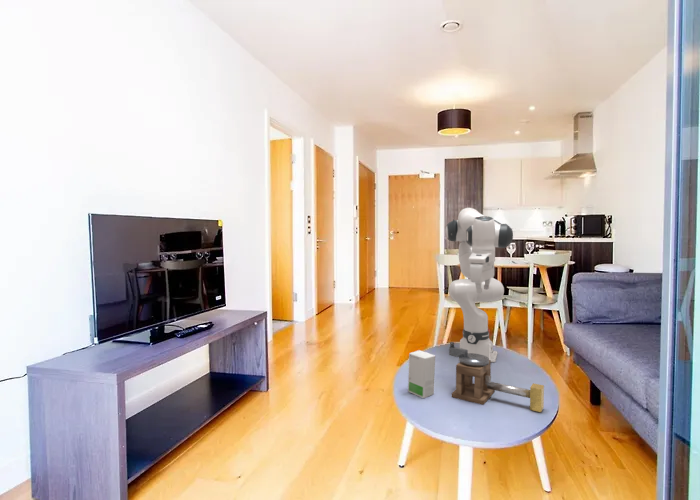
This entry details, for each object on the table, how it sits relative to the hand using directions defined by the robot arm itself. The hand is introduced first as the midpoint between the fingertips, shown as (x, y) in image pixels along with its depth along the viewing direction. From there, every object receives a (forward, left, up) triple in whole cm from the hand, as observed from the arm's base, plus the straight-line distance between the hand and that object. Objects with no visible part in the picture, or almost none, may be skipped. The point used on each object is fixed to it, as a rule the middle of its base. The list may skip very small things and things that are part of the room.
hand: (482, 291), depth 162 cm
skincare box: (+22, -17, -39) cm, 47 cm away
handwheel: (+11, -2, -26) cm, 28 cm away
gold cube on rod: (+12, +15, -38) cm, 43 cm away
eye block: (+12, 0, -38) cm, 40 cm away
